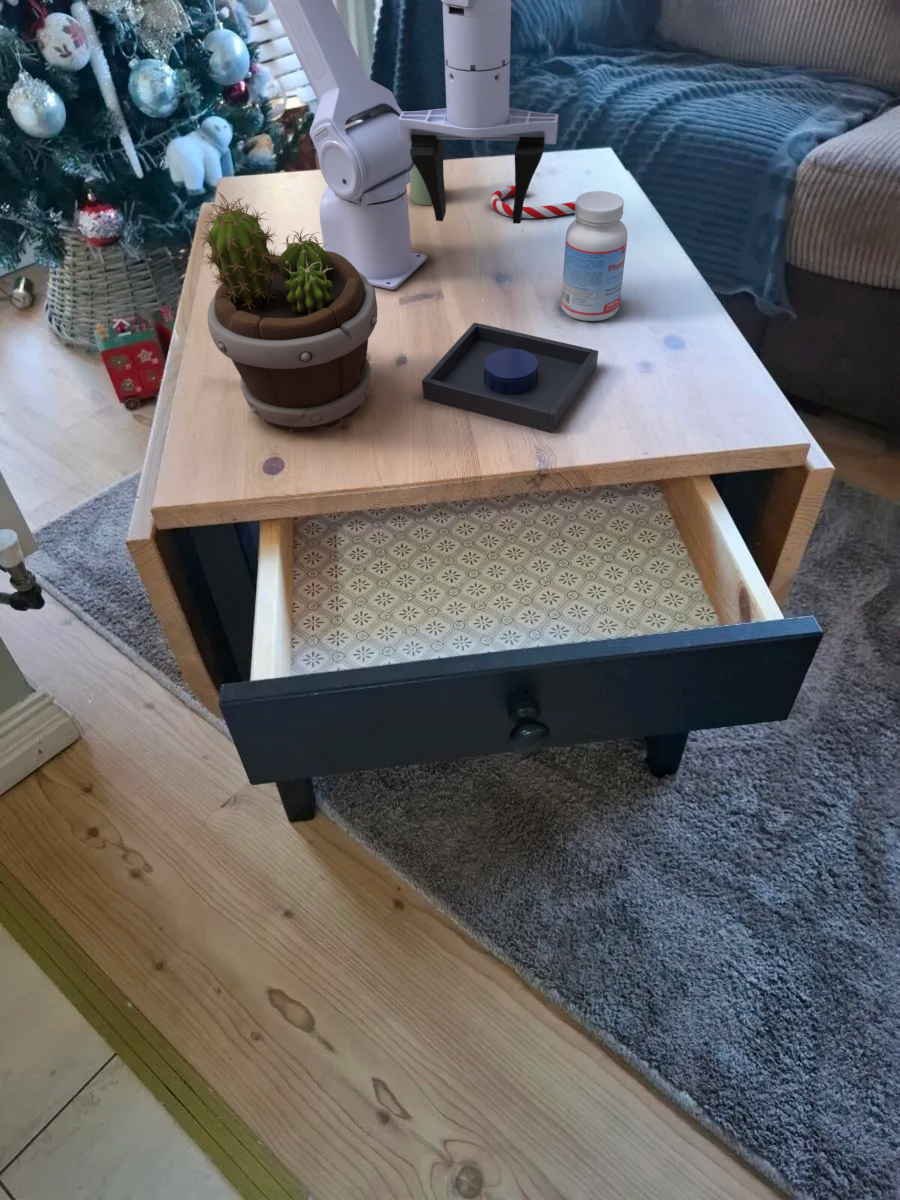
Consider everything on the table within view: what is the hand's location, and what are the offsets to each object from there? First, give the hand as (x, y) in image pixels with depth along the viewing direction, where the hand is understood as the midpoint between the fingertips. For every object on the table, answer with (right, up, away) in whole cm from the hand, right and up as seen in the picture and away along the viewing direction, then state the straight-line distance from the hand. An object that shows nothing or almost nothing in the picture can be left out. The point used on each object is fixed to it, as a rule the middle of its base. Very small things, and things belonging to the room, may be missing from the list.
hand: (479, 218), depth 83 cm
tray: (+3, -17, -3) cm, 18 cm away
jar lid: (+3, -16, -4) cm, 17 cm away
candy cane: (+10, +12, +23) cm, 28 cm away
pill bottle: (+12, -7, +6) cm, 15 cm away
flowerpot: (-16, -19, -4) cm, 25 cm away
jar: (-6, +14, +26) cm, 30 cm away
